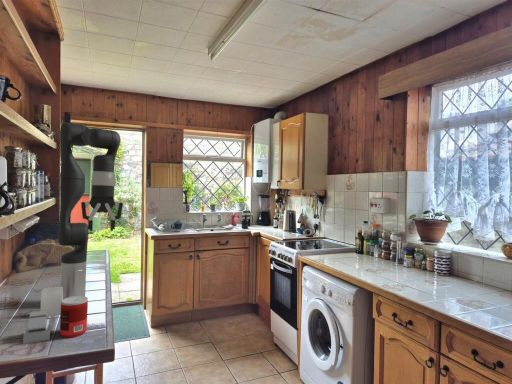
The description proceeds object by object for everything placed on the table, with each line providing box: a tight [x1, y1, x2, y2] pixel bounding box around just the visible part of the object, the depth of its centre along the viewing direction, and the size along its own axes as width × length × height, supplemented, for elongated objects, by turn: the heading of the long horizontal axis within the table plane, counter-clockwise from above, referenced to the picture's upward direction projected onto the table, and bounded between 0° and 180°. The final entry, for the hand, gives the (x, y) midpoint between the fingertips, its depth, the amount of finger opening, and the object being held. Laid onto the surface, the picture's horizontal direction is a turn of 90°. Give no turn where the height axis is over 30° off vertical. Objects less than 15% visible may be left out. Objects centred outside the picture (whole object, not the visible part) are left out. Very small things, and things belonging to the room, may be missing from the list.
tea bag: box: [39, 286, 63, 317], centre depth 126 cm, size 4×7×10 cm, turn 115°
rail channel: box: [22, 325, 52, 345], centre depth 107 cm, size 9×7×3 cm
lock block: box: [28, 311, 48, 332], centre depth 107 cm, size 6×5×7 cm
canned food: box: [59, 296, 89, 339], centre depth 110 cm, size 8×8×11 cm
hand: (101, 230), depth 121 cm, fingers open, 6 cm apart
